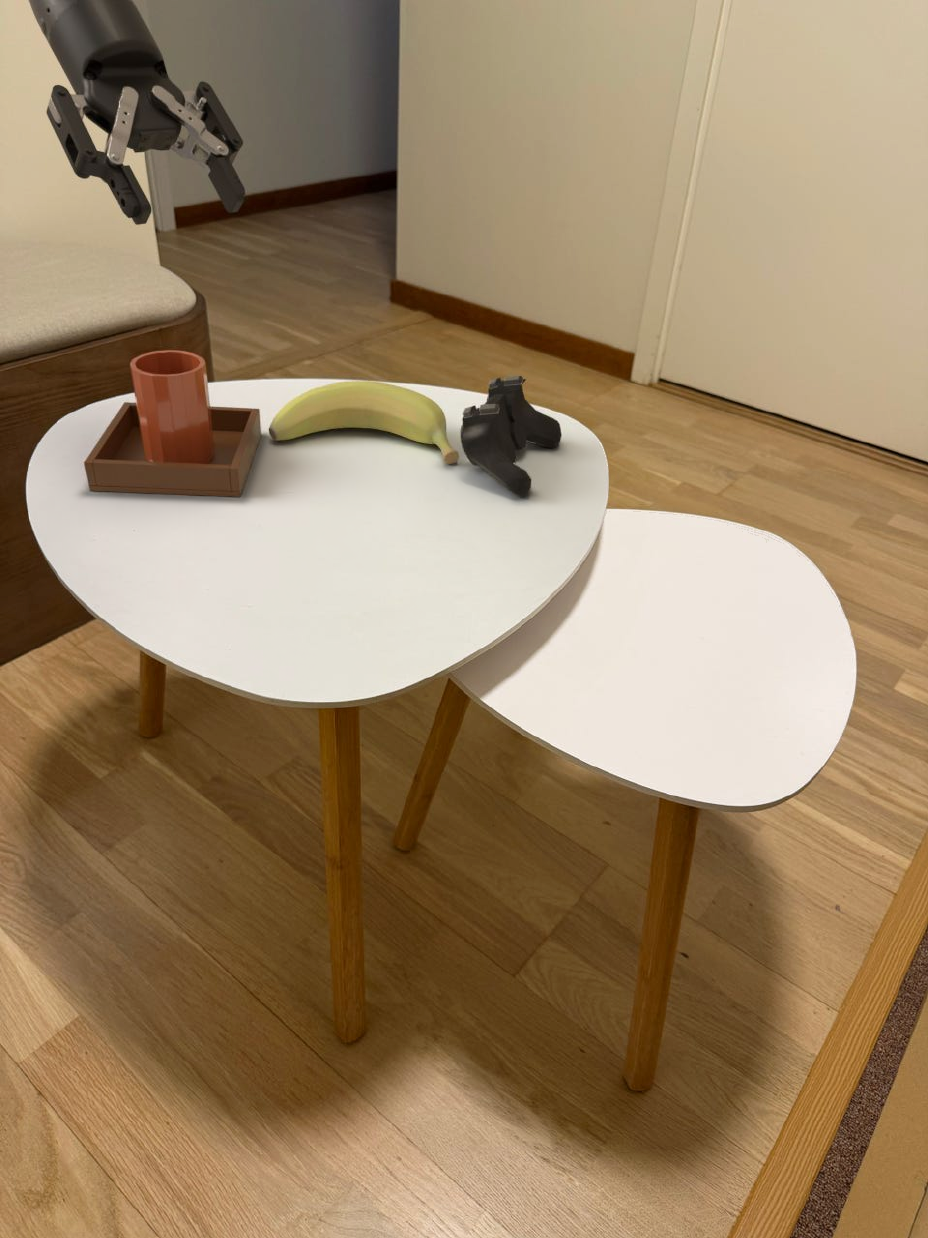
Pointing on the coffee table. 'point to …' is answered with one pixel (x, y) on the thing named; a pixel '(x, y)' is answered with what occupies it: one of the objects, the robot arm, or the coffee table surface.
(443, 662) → the coffee table surface
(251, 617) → the coffee table surface
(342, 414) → the banana
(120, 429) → the tray
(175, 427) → the cup
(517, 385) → the chunky heeled booties
